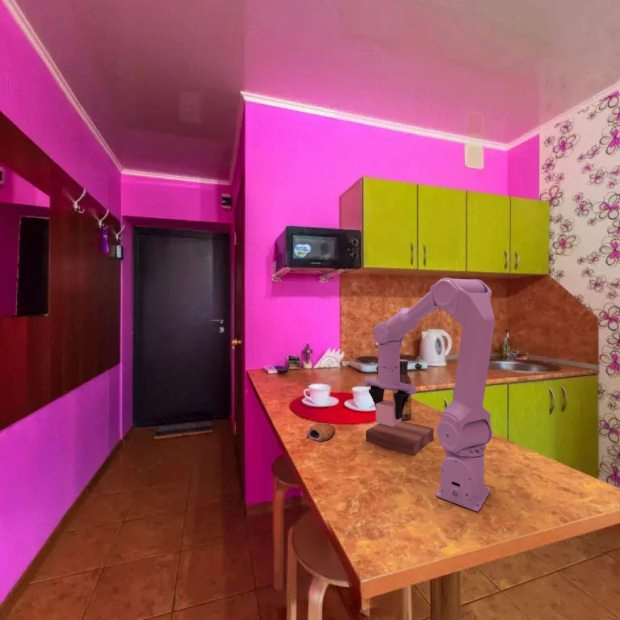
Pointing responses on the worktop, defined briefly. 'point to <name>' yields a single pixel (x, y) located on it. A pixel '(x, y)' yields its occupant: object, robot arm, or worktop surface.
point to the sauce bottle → (405, 379)
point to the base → (400, 436)
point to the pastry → (321, 432)
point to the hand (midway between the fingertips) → (389, 416)
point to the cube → (386, 413)
